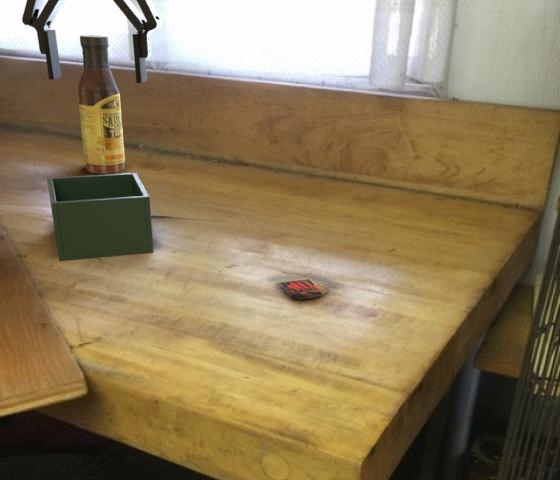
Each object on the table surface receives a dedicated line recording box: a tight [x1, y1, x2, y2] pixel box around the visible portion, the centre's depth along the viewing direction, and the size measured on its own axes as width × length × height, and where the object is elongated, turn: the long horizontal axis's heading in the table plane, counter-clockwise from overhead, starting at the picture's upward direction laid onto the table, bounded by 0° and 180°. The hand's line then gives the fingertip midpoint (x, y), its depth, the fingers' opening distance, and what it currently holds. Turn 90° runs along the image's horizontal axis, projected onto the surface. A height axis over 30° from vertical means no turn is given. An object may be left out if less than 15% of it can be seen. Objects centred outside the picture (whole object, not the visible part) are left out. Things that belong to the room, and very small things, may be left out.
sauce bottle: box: [77, 34, 126, 175], centre depth 107 cm, size 7×6×20 cm
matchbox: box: [275, 277, 329, 300], centre depth 73 cm, size 5×5×1 cm
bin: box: [46, 172, 154, 261], centre depth 83 cm, size 11×11×7 cm
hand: (98, 80), depth 105 cm, fingers open, 13 cm apart
